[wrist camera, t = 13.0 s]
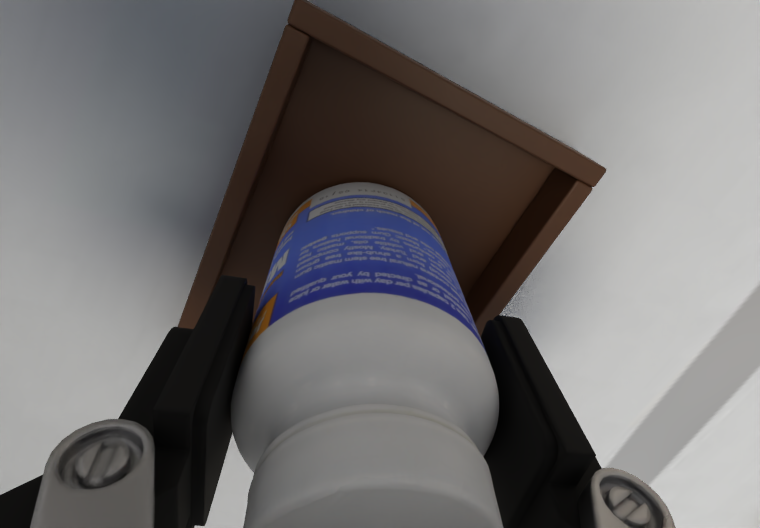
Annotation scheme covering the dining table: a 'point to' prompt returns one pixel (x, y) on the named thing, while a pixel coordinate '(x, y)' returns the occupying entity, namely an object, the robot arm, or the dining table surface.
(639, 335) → the dining table surface
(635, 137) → the dining table surface
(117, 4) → the dining table surface
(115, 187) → the dining table surface
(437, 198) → the tray
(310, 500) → the pill bottle
